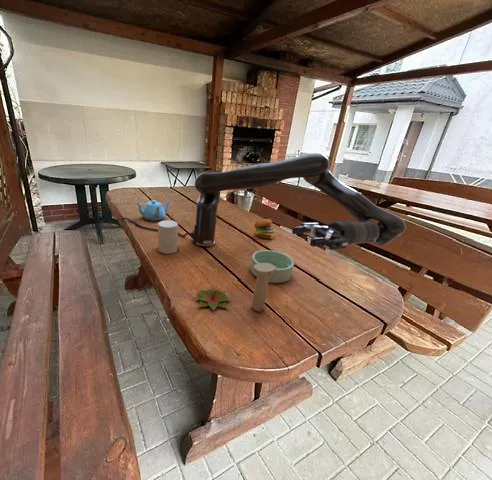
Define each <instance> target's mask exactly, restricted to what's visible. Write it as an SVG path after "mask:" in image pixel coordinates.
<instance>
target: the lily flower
mask: <svg viewBox="0 0 492 480" xmlns="http://www.w3.org/2000/svg"><path fill="white" fill-rule="evenodd" d="M209 288H210V289H209ZM209 288H206V289H198V290H199V291H198V292H199V295H197V296H196V297H195V299H196V300H200V301H199V305H198V308H202V307H209V308H211V309H212V311H213V312H214V311H215V310H216V308H217V307H220V308H223V309H227V310H228V309H229V308H228V305H227V303H226V301H231V299H230V298H229V297H228V296H227V295H226V290H219V288H218V286H216V287H215V289H214V288H212V287H211V286H209Z"/></svg>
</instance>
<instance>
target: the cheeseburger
mask: <svg viewBox="0 0 492 480" xmlns="http://www.w3.org/2000/svg"><path fill="white" fill-rule="evenodd" d="M273 224H274V222H272V220H271V219H268V218H265V219H257V221H255V223H254V228H255V235H256V236H257V237H258V238H262V239H270V240H273V239H274V238H275V235H276V234H275V232H276V229H275V227H272V225H273Z"/></svg>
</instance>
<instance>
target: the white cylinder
mask: <svg viewBox="0 0 492 480" xmlns="http://www.w3.org/2000/svg"><path fill="white" fill-rule="evenodd" d="M157 226H158V227H157V229H158V231H157V233H158V234H157V235H158V242H157V243H158V252H160V253H162V254H166V255H168V254H174V253H177V252H178V238H179V237H178V236H179V235H178V233H179V223H178V221H175V220H160V221H159V222H158V223H157Z"/></svg>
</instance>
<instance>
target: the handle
mask: <svg viewBox="0 0 492 480" xmlns="http://www.w3.org/2000/svg"><path fill="white" fill-rule="evenodd" d="M275 271H276V267H275V266H274V265H273V264H270V263H258V264H256V265H254V272H255V273H257V274H258V275H257V277H256V281H255V285H254V288H253V293H252V305H251V308H252V309H253V311H254V312H261V311H262V310H263V309H264V306H265V304H266V300H267V297H268V295H267V294H268V286H269V282H268V280H269V276H270V275H272V274H273V273H275Z"/></svg>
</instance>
